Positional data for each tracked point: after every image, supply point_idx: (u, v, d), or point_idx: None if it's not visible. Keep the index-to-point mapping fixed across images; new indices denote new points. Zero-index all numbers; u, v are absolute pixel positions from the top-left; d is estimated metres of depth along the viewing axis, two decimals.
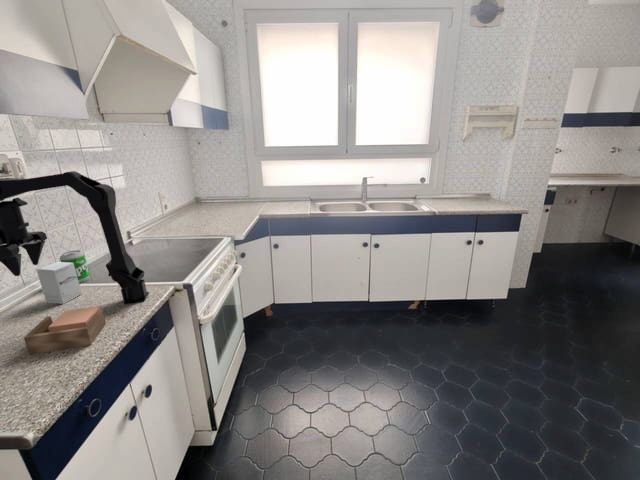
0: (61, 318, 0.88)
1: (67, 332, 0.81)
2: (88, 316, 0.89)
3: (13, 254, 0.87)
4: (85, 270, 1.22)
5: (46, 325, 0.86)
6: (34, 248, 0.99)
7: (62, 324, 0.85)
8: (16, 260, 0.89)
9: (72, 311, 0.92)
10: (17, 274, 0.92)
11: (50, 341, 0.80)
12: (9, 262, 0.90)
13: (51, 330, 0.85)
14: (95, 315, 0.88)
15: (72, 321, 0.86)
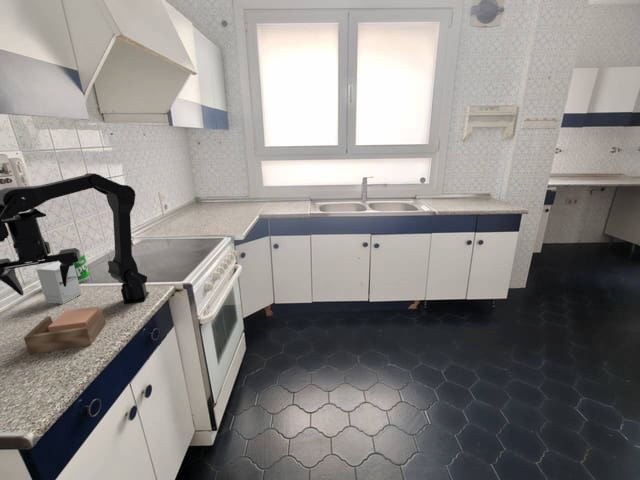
0: (61, 318, 0.88)
1: (67, 332, 0.81)
2: (88, 316, 0.89)
3: None
4: (85, 270, 1.22)
5: (46, 325, 0.86)
6: None
7: (62, 324, 0.85)
8: None
9: (72, 311, 0.92)
10: None
11: (50, 341, 0.80)
12: None
13: (51, 330, 0.85)
14: (95, 315, 0.88)
15: (72, 321, 0.86)
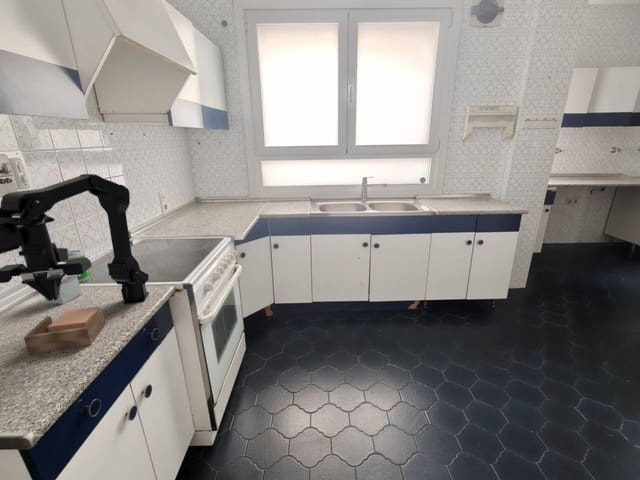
0: (61, 318, 0.88)
1: (67, 332, 0.81)
2: (88, 316, 0.89)
3: None
4: None
5: (46, 325, 0.86)
6: None
7: (62, 324, 0.85)
8: None
9: (73, 311, 0.92)
10: None
11: (50, 341, 0.80)
12: None
13: (51, 330, 0.85)
14: (95, 315, 0.88)
15: (72, 321, 0.86)
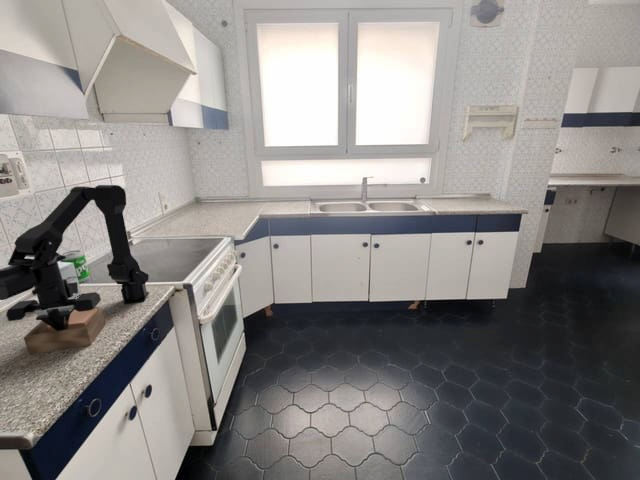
0: None
1: (67, 332, 0.81)
2: (88, 317, 0.89)
3: (10, 319, 0.76)
4: (85, 270, 1.22)
5: (46, 325, 0.86)
6: None
7: None
8: None
9: (73, 311, 0.92)
10: None
11: (50, 341, 0.80)
12: None
13: (50, 330, 0.85)
14: (95, 315, 0.88)
15: (71, 322, 0.86)
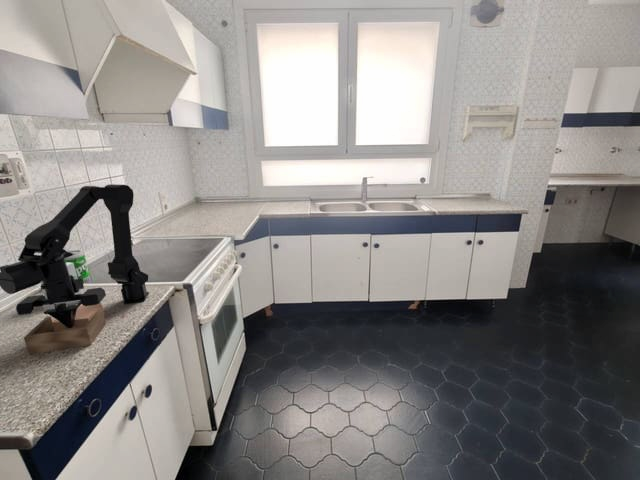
0: None
1: (67, 332, 0.81)
2: (91, 312, 0.91)
3: (20, 313, 0.80)
4: (85, 270, 1.22)
5: (46, 325, 0.86)
6: None
7: None
8: None
9: None
10: None
11: (50, 341, 0.80)
12: None
13: (55, 326, 0.87)
14: (95, 315, 0.88)
15: (75, 317, 0.89)
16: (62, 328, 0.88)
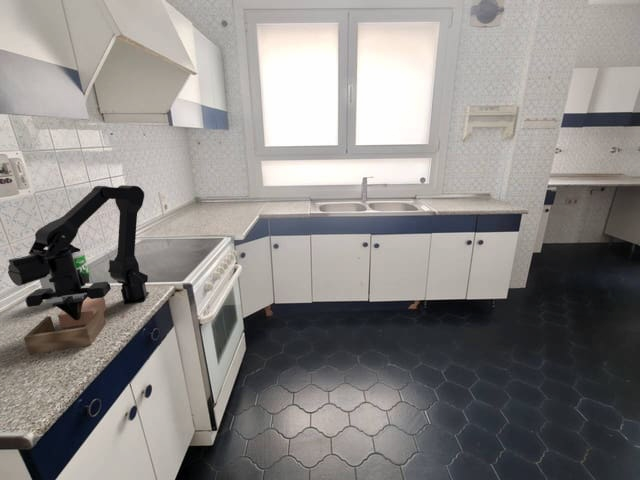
0: None
1: (67, 332, 0.81)
2: (95, 305, 0.95)
3: (29, 305, 0.84)
4: (85, 270, 1.22)
5: (46, 325, 0.86)
6: None
7: None
8: None
9: None
10: None
11: (50, 341, 0.80)
12: None
13: (60, 318, 0.90)
14: (95, 315, 0.88)
15: None
16: (68, 320, 0.91)
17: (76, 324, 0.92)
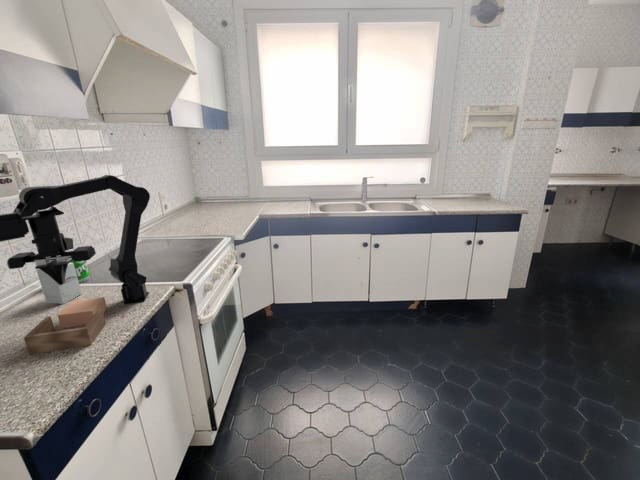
0: (69, 307, 0.94)
1: (67, 332, 0.81)
2: (95, 306, 0.95)
3: (11, 267, 0.82)
4: (85, 270, 1.22)
5: (46, 325, 0.86)
6: None
7: (71, 312, 0.91)
8: None
9: (79, 301, 0.98)
10: None
11: (50, 341, 0.80)
12: None
13: (60, 318, 0.91)
14: (95, 315, 0.88)
15: (80, 310, 0.92)
16: (67, 320, 0.91)
17: (75, 324, 0.92)
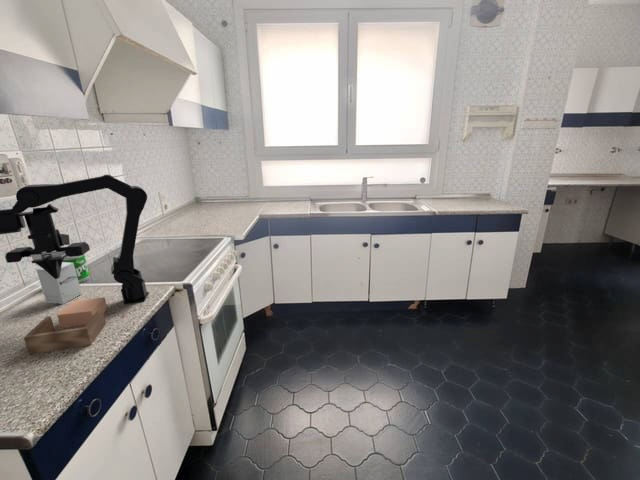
0: (69, 307, 0.94)
1: (67, 332, 0.81)
2: (94, 306, 0.95)
3: (9, 261, 0.87)
4: (85, 270, 1.22)
5: (46, 325, 0.86)
6: None
7: (70, 312, 0.91)
8: None
9: (80, 301, 0.98)
10: None
11: (50, 341, 0.80)
12: None
13: (60, 318, 0.91)
14: (95, 315, 0.88)
15: (79, 310, 0.92)
16: (67, 320, 0.91)
17: (75, 324, 0.92)
